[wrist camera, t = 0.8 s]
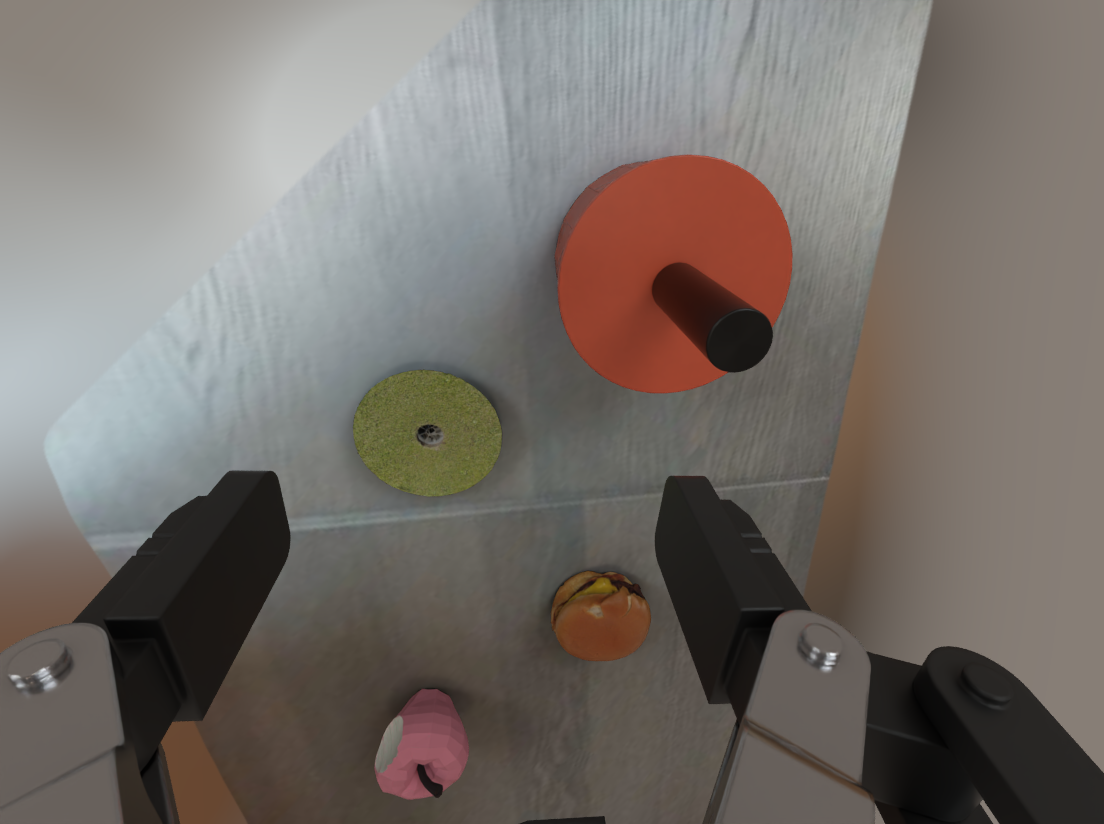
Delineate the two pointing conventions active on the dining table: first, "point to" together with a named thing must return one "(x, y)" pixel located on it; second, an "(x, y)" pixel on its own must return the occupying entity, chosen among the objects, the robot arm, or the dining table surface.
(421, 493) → the mat
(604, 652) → the burger
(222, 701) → the dining table surface
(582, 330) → the cooker lid
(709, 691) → the robot arm
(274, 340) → the dining table surface
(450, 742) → the apple
